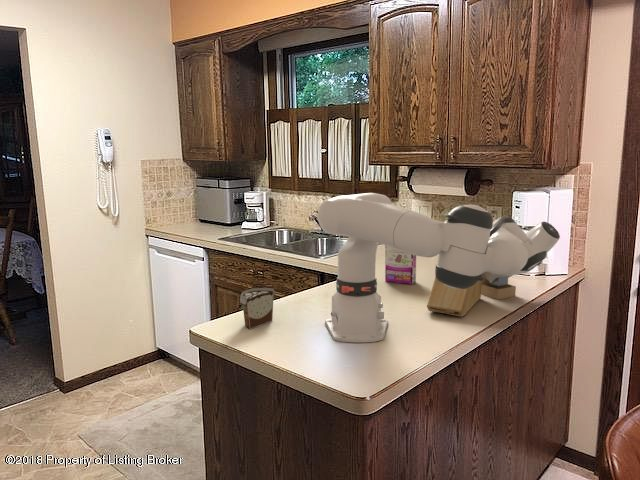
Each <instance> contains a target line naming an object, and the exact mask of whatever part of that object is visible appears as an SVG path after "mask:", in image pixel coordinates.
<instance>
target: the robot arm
mask: <svg viewBox="0 0 640 480" xmlns="http://www.w3.org/2000/svg"><path fill="white" fill-rule="evenodd" d="M442 216H443V217H445V218H447V219H446V220H444V221H440V220H436V219H434V218H432V217H429V216H427V215H425V214H423V213H420V212H418V211H414V210H411V209H408V208H405V207H401V206H398V205H395V204H393V202H392V200H391V198H390V197H388V196H387V195H386V194H380V193H376V192H365V193H364V192H363V193H357V194H347V195H338V196H335V197H332V198H328V199H326V200H325V201H324V200H323V202H322V203H321V204H320V206H319V208H318V211H317V221H318V224H319V226H320V228H321V229H322V231H323V232H324V233H327V234H330V235H335V236H336V235H337V236H343V237H348V238H347V240H346V242H345V243H344V244H343V246H342V247H340V249H339V250H338V253H337V277H336V281H335V285H336V292H335V293H334V294H333V295H331V313H330V316H331V318H326V319H325V321H324V324H325V326H326V328H327V330H328V332H329V334H330V336H331V338H332V339H333V340H334V341H337V342H341V343H342V342H343V343H374V342H375V343H376V342H379V341H383V340H384V339H385V335H386V332H387V328H388V324H389V320H388V319H387V318H385V310H382V309H383V308H384V307H383V306H384V303H382V295H380V294H379V293H378V292H377V288H378V282H377V277H376V259H377V251H378V246H379V244H381V245H384V246H385V245H386V246H389V247H392V248H394V249H397V250H399V251H402V252H405V253H408V254H412V255H416V257H422V258H433V257H436V256H438V258H437V264H435V268H434V271H435V272H434V273H435V274H434V275H435V276H436V278H437V280H438V281H440V282H441V283H443V284H444V285H445V286H447V287H450V288H453V289H466V288H469V287H471V286H473V285H474V284H476V283H477V282H478V281H482V280H483V279H484V278H483V277H481V276H482V275H483V274H484V276H485V277H486V279H487V280H489V282H490V283H491V282H494V281H496V278H501V277H506V276H508V279H509V278H511V277H513V276H517V275H522V274H526V273H530V271H533V269H535V268H537V266H540V265H541V264H543V260H545V259H546V257H547V254H548V252H550V251H551V249H553V248H554V246H555V245H556V244H557V243H558V241H559V240H560V239H561V235H560V233H559V231H558V230H557V229H556V227H554V225H552V224H551V223H549V222H547V221H541V222H539V223H538V224H536V225H534V227H532V228H531V229H530V230H528V232H525V231H524V230H523V229H522V228H521V227H520V226H519V224H517V223H516V221H515V219H514V218H513V217H510V216H501V217H499V218H497V219H495V220H494V219H493V218H494V217H493V215H492V214H491V212H488V210H486V209H485V208H484V207H482V206H479V205H476V204H464V205H462V204H460V205H457V206H456V207H453V208H452V209H451V210H449V212H448V213H444V214H443V215H442ZM435 276H434V277H435Z"/></svg>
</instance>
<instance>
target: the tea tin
mask: <svg viewBox="0 0 640 480" xmlns="http://www.w3.org/2000/svg"><path fill="white" fill-rule="evenodd" d="M508 284H509V278H508V276H506V277H501V278H496V281H494V282H491V283H490V282H489V280H488V286H490V287H493V288H497V289H501V288H506V287H508Z"/></svg>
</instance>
